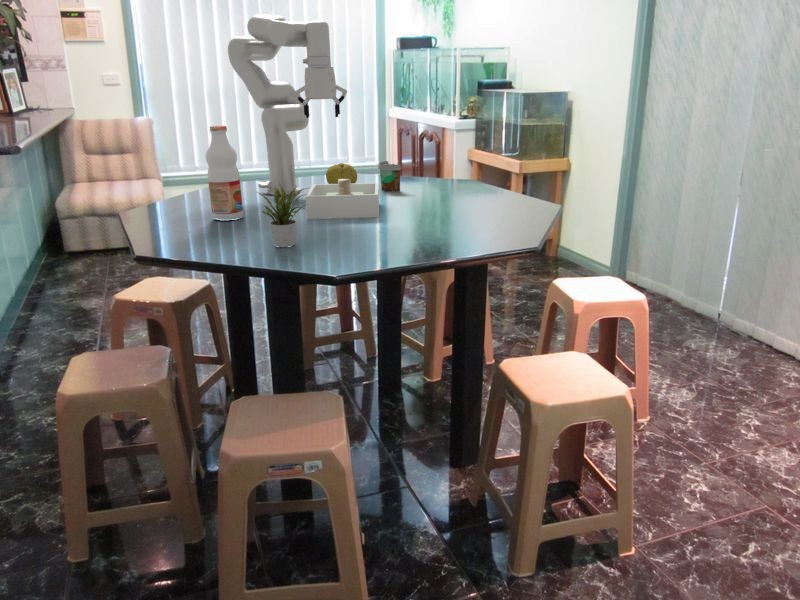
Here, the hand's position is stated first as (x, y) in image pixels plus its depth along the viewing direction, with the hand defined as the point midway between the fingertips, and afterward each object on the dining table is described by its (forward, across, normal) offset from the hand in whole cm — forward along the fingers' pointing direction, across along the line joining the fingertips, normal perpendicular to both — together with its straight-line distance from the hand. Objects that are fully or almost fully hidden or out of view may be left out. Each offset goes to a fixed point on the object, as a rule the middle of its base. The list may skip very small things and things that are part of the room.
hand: (322, 117), depth 216 cm
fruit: (+28, +4, +22) cm, 36 cm away
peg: (+28, +7, -17) cm, 34 cm away
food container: (+28, +21, +20) cm, 41 cm away
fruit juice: (+28, -29, -24) cm, 47 cm away
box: (+28, +7, -17) cm, 34 cm away
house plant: (+28, -5, -60) cm, 67 cm away
